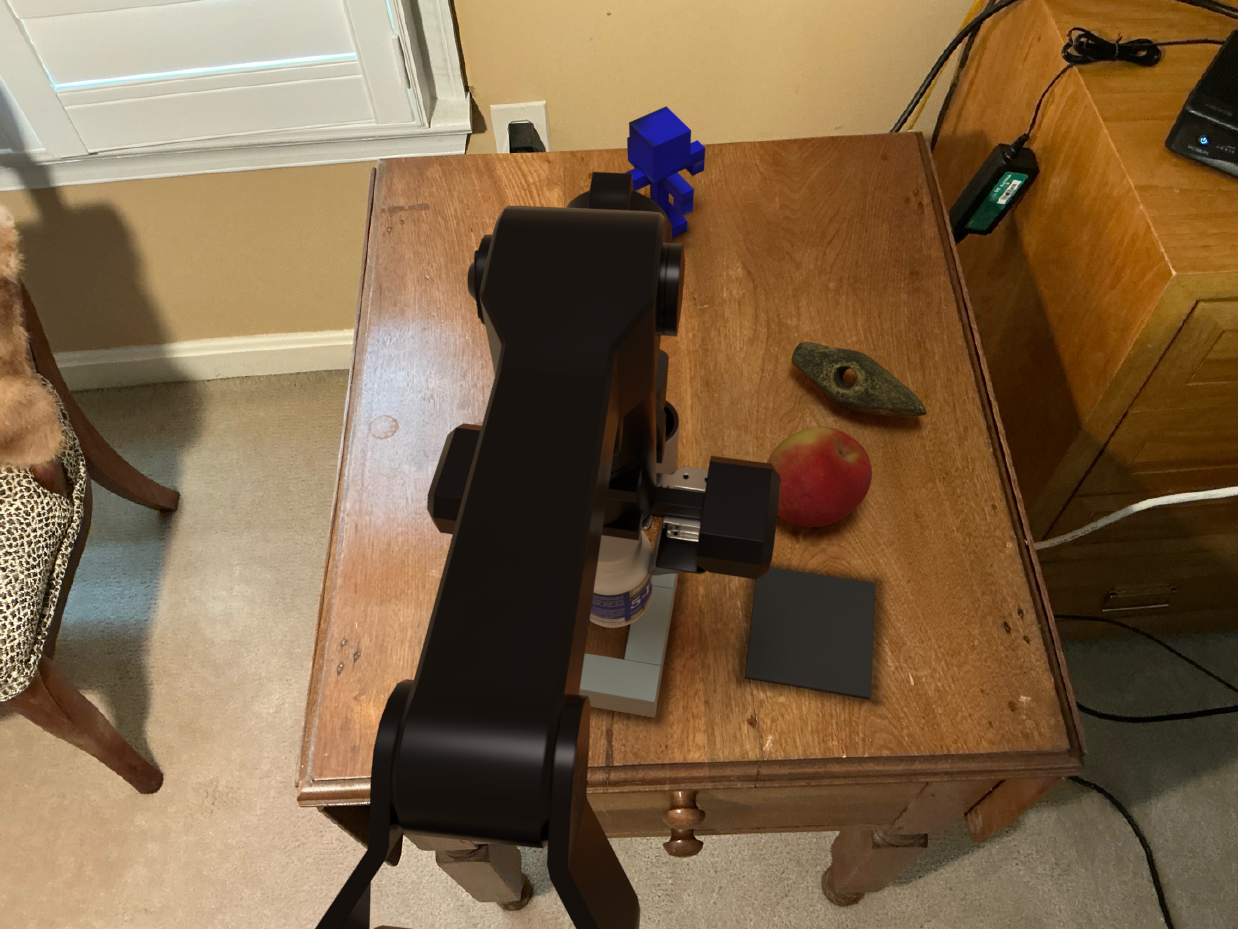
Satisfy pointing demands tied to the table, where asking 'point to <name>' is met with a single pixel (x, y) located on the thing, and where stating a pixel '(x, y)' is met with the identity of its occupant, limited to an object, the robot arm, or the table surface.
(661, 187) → the figurine
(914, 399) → the decorative stone
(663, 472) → the grey cylindrical tube
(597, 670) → the stand
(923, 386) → the table surface
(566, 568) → the robot arm
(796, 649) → the mat
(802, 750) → the table surface
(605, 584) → the pill bottle
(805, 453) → the apple
